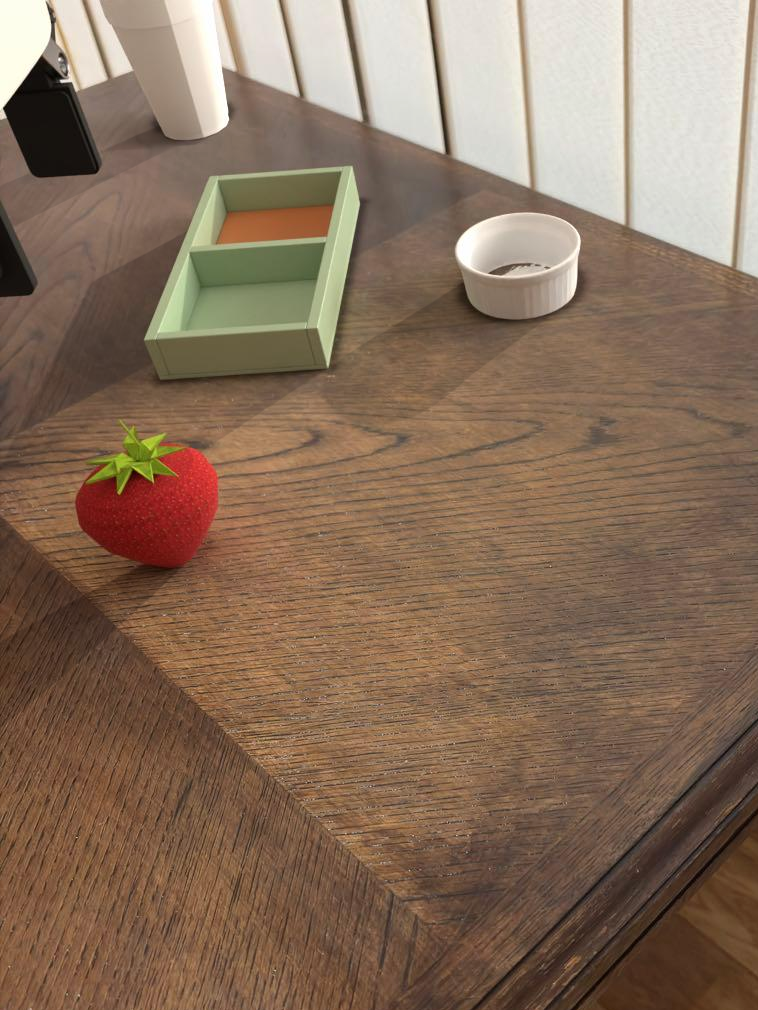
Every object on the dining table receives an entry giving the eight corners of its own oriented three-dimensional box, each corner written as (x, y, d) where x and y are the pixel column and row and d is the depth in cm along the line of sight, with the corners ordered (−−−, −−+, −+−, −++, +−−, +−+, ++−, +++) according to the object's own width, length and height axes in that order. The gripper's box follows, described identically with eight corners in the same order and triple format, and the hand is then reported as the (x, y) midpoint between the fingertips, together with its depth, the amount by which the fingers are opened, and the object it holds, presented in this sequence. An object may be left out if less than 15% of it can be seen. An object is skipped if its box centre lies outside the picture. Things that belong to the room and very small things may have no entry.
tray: (162, 388, 73) (143, 339, 70) (223, 221, 89) (209, 176, 86) (330, 376, 73) (317, 327, 70) (361, 210, 88) (352, 165, 85)
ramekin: (444, 323, 76) (436, 270, 73) (485, 257, 82) (479, 205, 79) (563, 338, 74) (560, 284, 71) (596, 269, 80) (594, 216, 77)
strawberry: (102, 558, 62) (31, 426, 55) (226, 508, 64) (174, 375, 57) (127, 625, 58) (55, 492, 51) (258, 569, 61) (206, 434, 53)
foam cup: (217, 94, 106) (176, -47, 97) (262, 123, 101) (224, -24, 92) (129, 127, 103) (78, -18, 93) (172, 158, 97) (122, 8, 88)
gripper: (-179, -305, 39) (14, 140, 52) (-477, -185, 27) (-133, 357, 40) (22, -321, 39) (167, 130, 51) (-189, -206, 27) (65, 344, 40)
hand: (36, 229), depth 46 cm, fingers open, 9 cm apart
